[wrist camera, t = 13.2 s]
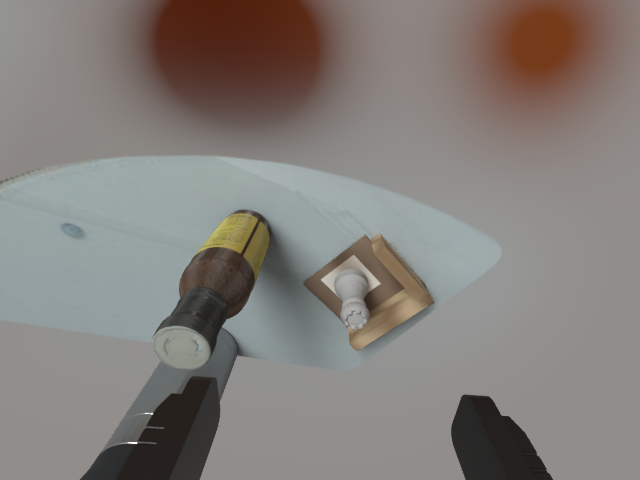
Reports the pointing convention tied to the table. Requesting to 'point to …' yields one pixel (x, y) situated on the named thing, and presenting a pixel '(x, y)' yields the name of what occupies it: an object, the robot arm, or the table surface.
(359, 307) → the rook chess piece
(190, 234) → the table surface
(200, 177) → the table surface
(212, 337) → the sauce bottle
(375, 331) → the wooden tray
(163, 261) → the table surface
